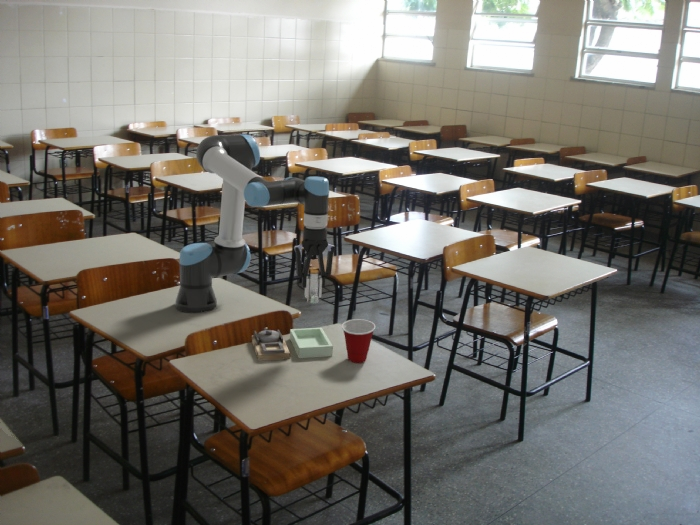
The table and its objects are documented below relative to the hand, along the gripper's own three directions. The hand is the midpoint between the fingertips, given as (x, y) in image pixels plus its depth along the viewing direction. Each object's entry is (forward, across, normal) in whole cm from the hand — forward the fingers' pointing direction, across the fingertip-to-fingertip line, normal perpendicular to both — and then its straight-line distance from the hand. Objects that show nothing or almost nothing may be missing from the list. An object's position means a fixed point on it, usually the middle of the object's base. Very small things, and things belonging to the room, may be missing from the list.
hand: (312, 296), depth 230 cm
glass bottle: (+2, 0, 0) cm, 2 cm away
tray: (+18, 0, 0) cm, 18 cm away
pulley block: (+18, -14, 0) cm, 22 cm away
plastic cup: (+18, +12, -12) cm, 25 cm away
